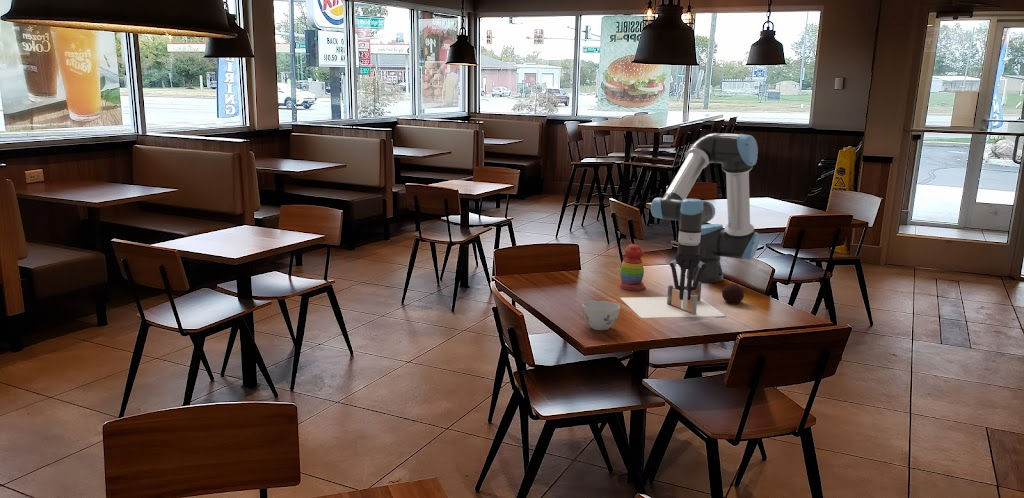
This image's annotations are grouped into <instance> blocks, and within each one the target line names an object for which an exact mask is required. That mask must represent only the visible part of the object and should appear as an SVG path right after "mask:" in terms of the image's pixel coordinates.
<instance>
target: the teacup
mask: <svg viewBox="0 0 1024 498" xmlns="http://www.w3.org/2000/svg"><path fill="white" fill-rule="evenodd" d="M581 307H582V313H583V317H584V320H585V321H586V322H587V324H588V325H589V326H590V328H591V329H592V330H596V331H606V330H609V329H610V328H611V327H612V326H613V325H614V323H616V321H617V319H618V317H619V315H620V311H621V305H620V304H618V303H615V302H612V301H608V300H607V301H605V300H600V301H599V300H588V301H585V302H583V303H582V305H581Z"/></svg>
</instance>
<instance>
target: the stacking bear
mask: <svg viewBox="0 0 1024 498" xmlns="http://www.w3.org/2000/svg"><path fill="white" fill-rule="evenodd" d="M624 252H625V258H624V259H623V260H622V262H621V266H620V270H619V271H620V272H619V274H620V281H621V282H620V285H619V287H620V289H623V290H628V291H637V292H642V291H647V288H646V286H645V284H644V282H643V278H644V276H645V275H644V272H645V269H644V263H643V260H642V257H643V256H644V254H645V252H644V250H642V248H641V247H640V245H638V244H635V243H634V244H633V242H632V243H630V244H629V245H627V246H626V247H625V250H624Z"/></svg>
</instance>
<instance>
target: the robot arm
mask: <svg viewBox="0 0 1024 498" xmlns="http://www.w3.org/2000/svg"><path fill="white" fill-rule="evenodd" d="M758 154H759V147H758V143H757V140H756V138H755V137H754V136H753V135H750V134H744V133H725V132H724V133H719V132H712V133H708V134H705V135H704V136H701V137H700V138H698V139H697V140H696V141H694V142H693V143H692V144H691V146H689V147H688V149H687V151H686V153H685V157H684V158H685V160H684V161H683V163H682V164H681V166H680V168H679V170H678V171H677V173H676V174H675V176H674V178H673V179H672V181H671V183H670V185H669V187H668V188H667V190H666V192H665V193H664V195H663V197H661V196H660V197H655V198H654V199H653V200H652V202H651V205H650V212H651V215H652V217H654V218H657V219H661V220H668V221H669V220H670V221H679V224H678V225H679V228H678V240H677V241H678V242H679V243H677V249H676V250H677V251H676V256H675V257H674V258H675V259H674V260H672V261H669V262H668V265H669V267H670V269H671V274H672V278H673V284H674V286H673V287H674V288H676V289H678V290H680V291H679V299H680V300H682V303H681V308H682V310H687V300H690V296H691V291H692V290H696V289H697V286H698V283H699V282H701V283H719V282H722V281H723V280H724V272H723V269H722V265H721V257H724V258H730V259H736V260H737V259H738V260H741V261H742V260H746V261H751V260H752V259H753V258H754V257H755V256H756V253H757V251H758V247H759V243H760V234H759V232H756V231H755V226H754V225H753V224H752V223H751V212H750V211H751V207H750V204H751V203H750V171H751V170H752V169H753V168H754V167H753V166H755V165H756V164H757V162H758V161H757V160H758V158H759V157H758ZM712 163H714V164H721V170H722V171H723V172H724V173H725V176H726V177H725V179H726V202H727V203H726V204H727V206H726V207H727V225H725V226H724V225H723V224H720V223H708V222H710V221H711V220H712V219H714V217H715V215H716V207H715V205H714V204H713V203H711V202H710V201H707V200H702V199H700V198H699V199H698V198H687V197H688V195H689V193H690V192H691V190H692V188H693V187H694V185H695V183H696V181H697V179H698V178H699V176H700V174H701V173H702V171H703V169H705V168H707V166H708V165H710V164H712ZM706 223H707V224H706ZM677 265H678V267H679V268H680V275H679V280H678V275H677V274H678V272H677V268H676V267H677ZM686 278H687V280H686ZM685 282H686V284H685ZM684 286H687V290H684Z"/></svg>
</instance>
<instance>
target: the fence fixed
mask: <svg viewBox="0 0 1024 498" xmlns="http://www.w3.org/2000/svg"><path fill="white" fill-rule="evenodd" d="M702 283H703V282H700V281H699V283H698V286H697V289H696V290H692V291H691V295H692V296H693V295H697V300H700V298H701V295H702ZM672 289H676V288H675V287H674V286H673V285H672V284H669V285H668V286H667V295H666V297H667V304H669V305H671V299H672ZM676 290H678V289H676ZM684 290H687V285H684ZM679 291H680V290H679Z"/></svg>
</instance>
